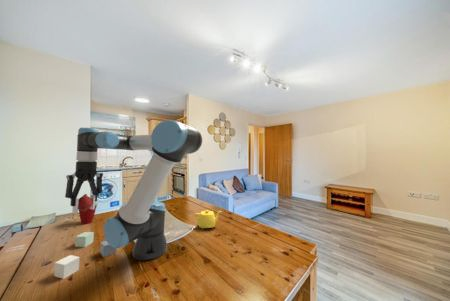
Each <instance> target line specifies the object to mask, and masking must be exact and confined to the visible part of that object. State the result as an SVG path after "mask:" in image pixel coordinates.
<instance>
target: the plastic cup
mask: <svg viewBox="0 0 450 301" xmlns="http://www.w3.org/2000/svg"><path fill="white" fill-rule="evenodd" d="M97 206H98V202H95V209H93V210H92V209H90V208H89V209H87V210H86V211H84V212H83V211H80V210H79V209H78V214H79V219H80V223H81V225H89V224H92V223H93V221H94V218H95V214H96V211H97V210H96V209H97Z"/></svg>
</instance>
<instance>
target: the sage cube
mask: <svg viewBox="0 0 450 301" xmlns="http://www.w3.org/2000/svg"><path fill="white" fill-rule="evenodd" d="M94 238H95V232H94V231H84V232H81V233H80V234H77V235H76V236H75V243H74V247H75V248H87V247H88V246H89V245H91V244H92V243H94Z"/></svg>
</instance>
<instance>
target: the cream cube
mask: <svg viewBox="0 0 450 301" xmlns="http://www.w3.org/2000/svg"><path fill="white" fill-rule="evenodd" d="M80 258H81V257H80V256H76V255H72V254H70V255H67V256H65V257H63V258H61V259H59V260H57V261H55V262H54V268H53V269H54V270H53V276H54V277H56V278H60V279H62V280H63V279H66V278H68V277H69V276H71V275H72V274H74V273H76V272H77V271H79V270H80Z"/></svg>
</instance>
